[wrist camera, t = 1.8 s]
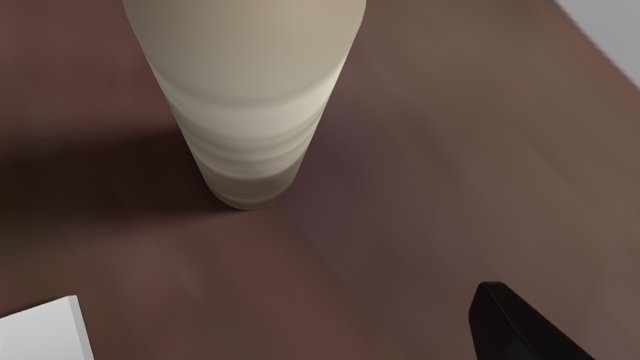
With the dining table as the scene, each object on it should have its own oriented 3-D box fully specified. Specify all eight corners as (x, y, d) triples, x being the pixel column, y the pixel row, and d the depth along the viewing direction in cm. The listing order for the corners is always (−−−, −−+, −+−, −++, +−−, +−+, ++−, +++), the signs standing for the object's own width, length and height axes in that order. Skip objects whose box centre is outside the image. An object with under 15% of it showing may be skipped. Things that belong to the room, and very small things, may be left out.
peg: (309, 193, 22) (400, 58, 9) (218, 222, 22) (160, 126, 8) (279, 107, 23) (321, -149, 9) (190, 133, 22) (90, -102, 8)
